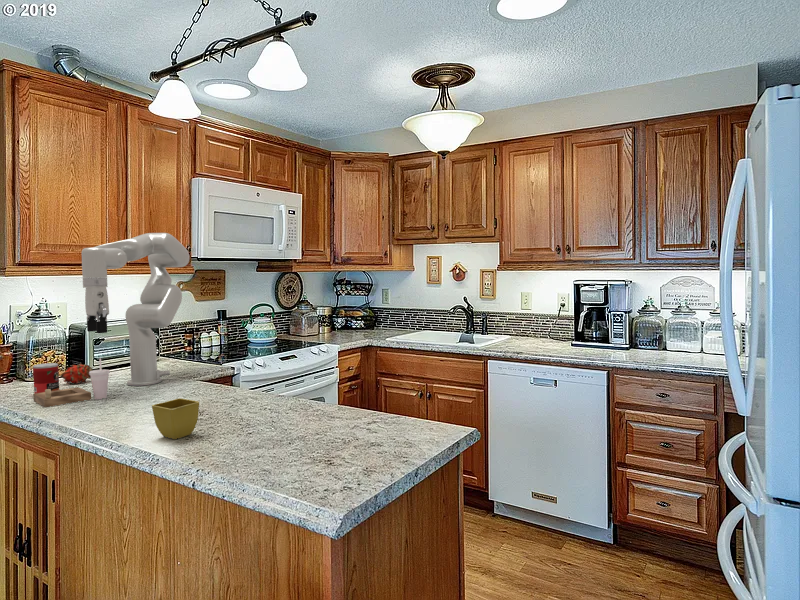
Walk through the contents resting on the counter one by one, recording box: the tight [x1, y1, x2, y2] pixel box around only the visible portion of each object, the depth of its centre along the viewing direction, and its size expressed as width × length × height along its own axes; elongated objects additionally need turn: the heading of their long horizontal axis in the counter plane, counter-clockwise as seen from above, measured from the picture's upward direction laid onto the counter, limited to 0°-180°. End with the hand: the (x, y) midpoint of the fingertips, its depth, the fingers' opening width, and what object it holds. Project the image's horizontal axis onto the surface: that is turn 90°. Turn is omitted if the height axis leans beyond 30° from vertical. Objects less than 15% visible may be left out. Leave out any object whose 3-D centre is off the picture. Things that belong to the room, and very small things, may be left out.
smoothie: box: [89, 357, 111, 400], centre depth 192 cm, size 6×6×14 cm
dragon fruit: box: [59, 362, 94, 384], centre depth 219 cm, size 8×8×12 cm
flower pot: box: [151, 398, 200, 440], centre depth 146 cm, size 9×9×9 cm
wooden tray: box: [33, 386, 92, 408], centre depth 189 cm, size 14×14×6 cm
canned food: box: [32, 362, 60, 394], centre depth 199 cm, size 8×8×11 cm
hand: (97, 332), depth 191 cm, fingers open, 9 cm apart
